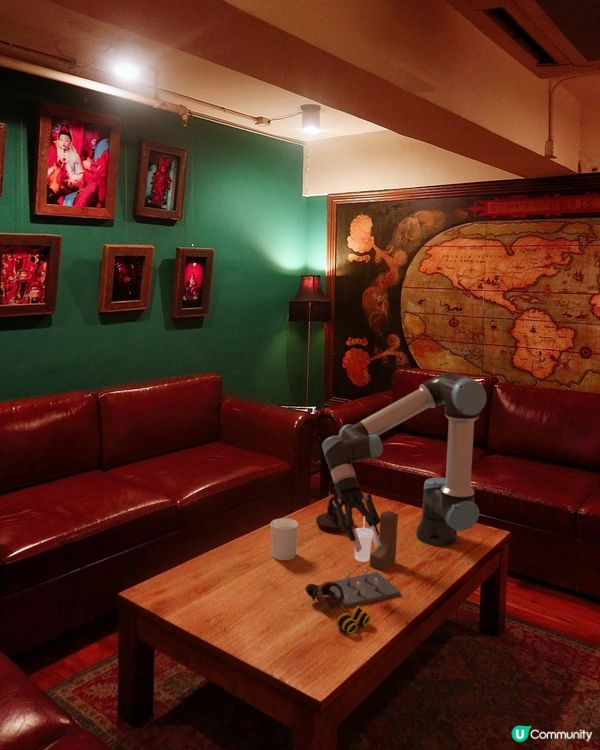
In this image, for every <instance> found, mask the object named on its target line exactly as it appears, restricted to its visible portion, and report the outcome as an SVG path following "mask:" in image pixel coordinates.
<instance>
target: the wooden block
mask: <svg viewBox="0 0 600 750" xmlns="http://www.w3.org/2000/svg"><path fill="white" fill-rule="evenodd" d="M379 515H380V516H379V518H380V520H381V522H380V523H379V536H378V537H379V540H380V543H381V546H380V547H378V548H375V550H374V551H372V553H371V552H370V558H369V566H370V567H371V568H373V569H376V570H377V571H381V570H382V569H384V568H387V567H389V566H391V565H392V564H395V563H396V559H397V558H396V556H397V555H396V553H397V540H398V539H397V537H398V536H397V535H398V523H399V522H398V521H399V520H398V519H399V514H398V513H396V512H393V511H391V510H386V511H383V512H380V514H379Z"/></svg>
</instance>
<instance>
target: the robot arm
mask: <svg viewBox="0 0 600 750" xmlns="http://www.w3.org/2000/svg"><path fill="white" fill-rule="evenodd" d="M486 403H487V393H486V390H485V387H484V386H483V385H482V384H481V383H480V382H479V381H477V380H475V379H474V378H471V377H467V376H465V375H462V374H459V373H457V372H446V373H442V374H439V375H437V376H434V377H432V378H430V379H428V380H426V381H424V382H422V383H421V384H420V385H419V387H418V389H416V390H415V391H413V392H411V393H409V394H407V395H405V396H404V397H401V398H400V399H398V400H397V401H394V402H393V403H391V404H389V405H388V406H386V407H384V408H382V409H380V410H378V411H377V412H375V413H373V414H371V415H369V416H368V417H366V418H364V419H362V420H361V421H359V422H356V423H354V424H345V425H342V427H341V428H340V430H339V433H338V435H331V436H330V437H326V439H324V441H322V444H321V448H322V451H323V454H324V457H325V461H326V463H327V466H328V469H329V472H330V475H331V477H332V478H333V481H334V484H335V488H336V491H337V493H338V497H339V499H335V500H334V501H333V502H332V505H333V506H334V508H335V510H336V514H337V518H338V522H339V526H340V530H339V531H341V532H345V533H346V534H347V535H348V537H349V541H350V542H352V543H353V547H354V550H355V549H356V552H359V551H360V550H361V549H362V547H361V544H360V541H359V538H358V535H357V532H356V528H354V527H353V526H354V525H353V526H352V518H353V509H356V510H357V511H358V512H359V513H360V514H361V516H362V517H363V518H364V516H365V522H366V523H367V525H368V526H369V528H368V529H371V530H372V531H373V536H372V543H373V546H374V548H375V549H376V548H378V547H380V546H381V543H380V540H379V533H380V530H379V529H378V525H380V522H381V520H380V516H379V514H378V512H377V509H376V507H375V505H374V502H373V499H372V498H373V497H372V494H371V493H368V494H364V493H363V492H362V491H361V486H360V484H359V481H358V478H357V477H356V476H357V475H356V472H355V469H354V467H353V464H352V463H356V462H360V461H365V460H370V459H373V458H377V457H380V456H381V455H382V454H383V451H384V447H383V443H382V442H383V441H382V439H381V438H380V436H379V435H383V433H385V432H387V431H389V430H391V429H392V428H394V427H396V426H398V425H400V424H401V423H403V422H405V421H407V420H409V419H410V418H412V417H414V416H416V415H418V414H419V413H421V412H423V411H425V410H427V409H429V408H431V409H435V408H436V407H438V406H440V405H444V416H445V417H446V418H447V419H448V426H447V427H448V429H447V447H446V448H447V449H446V471H445V477H431V478H428V479H426V480H425V481H424V484H423V496H422V510H421V511H422V513H421V514H422V515H421V518H420V521H419V522H418V523H419V524H418V526H417V527H416V533H415V535H416V538H417V539H418V540H419V541H421V542H423V543H425V544H428V545H433V546H438V547H439V546H443V547H445V546H451V545H453V544H455V543H456V542H457V539H458V533H457V531H461V532H462V531H466V530H469V529H470V528H472V527H473V526H474V525H475V524H476V523H477V522H478V520H479V516H480V510H479V506H478V505H477V503H475V490H474V489H473V488H472V487H471V483H472V482H471V480H472V463H473V462H472V461H473V451H474V450H473V447H474V429H475V421H477V420H478V419H479V418H480V412H482V409H484V408H485V406H486ZM341 503H342V504H343V506H341ZM343 507H344V510H343ZM343 513H344V514H346V521H345V517H344V514H343Z"/></svg>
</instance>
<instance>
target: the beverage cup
mask: <svg viewBox="0 0 600 750" xmlns="http://www.w3.org/2000/svg"><path fill="white" fill-rule="evenodd" d="M362 521H363V523H362V524H363V525H362V527H357V528H355V529H356V532H357V535H358V538H359V541H360V544H361V547H362V549H361V550H360V551H359V552H356V549H355V548H354V560H356V561H358V562H363V563H364V562H368V561H370V555H371V548H372V542H373V540H372V536H373V531H372V530H371V529H369V528H367V527H366V525H365V524H366V520H365V516H364V517H363V520H362Z"/></svg>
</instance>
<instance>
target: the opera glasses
mask: <svg viewBox="0 0 600 750" xmlns="http://www.w3.org/2000/svg"><path fill="white" fill-rule="evenodd" d="M370 620H371V615H370V614H368V613H367V612H366V611H365V610H363V609H362V608H361V606H360V605H356V608H354V611H353V613H352V614H351V613H349V612H345V613H342V614H340V615H339V616H338V617H337V619H336V623H335V624H336V626H337V628H339V629H342V631H344V632H346V633H347V634H348V635H349V636H350V635H353V634H355V633H356V632H357V630H358V625H360V626H362V627H364V628H366V626H368V625H369V623H370Z"/></svg>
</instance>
